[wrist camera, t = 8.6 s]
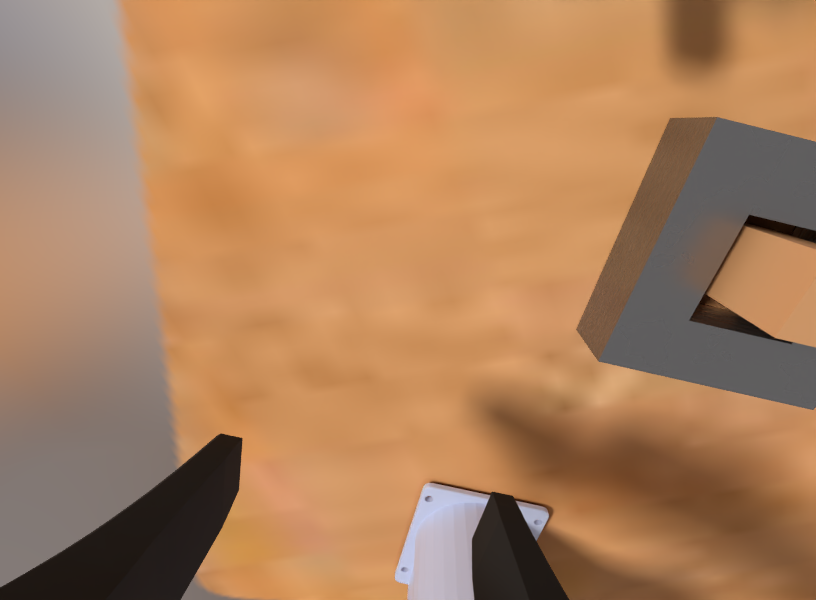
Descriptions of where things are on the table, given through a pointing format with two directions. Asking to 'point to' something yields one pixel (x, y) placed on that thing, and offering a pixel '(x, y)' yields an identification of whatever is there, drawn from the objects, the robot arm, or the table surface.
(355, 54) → the table surface
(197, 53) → the table surface
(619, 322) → the grey square frame
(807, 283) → the tan wooden block
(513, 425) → the table surface
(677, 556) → the table surface
